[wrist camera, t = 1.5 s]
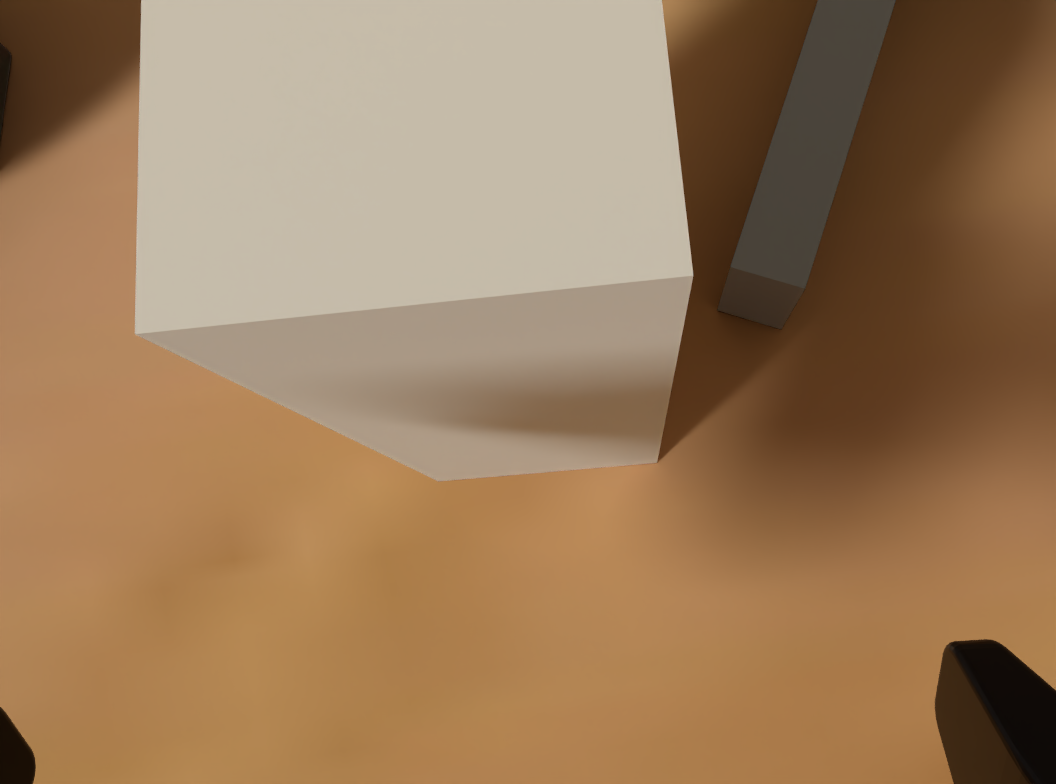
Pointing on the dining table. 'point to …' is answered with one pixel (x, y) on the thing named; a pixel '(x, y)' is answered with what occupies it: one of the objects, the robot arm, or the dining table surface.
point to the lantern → (3, 79)
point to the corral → (805, 160)
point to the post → (421, 220)
